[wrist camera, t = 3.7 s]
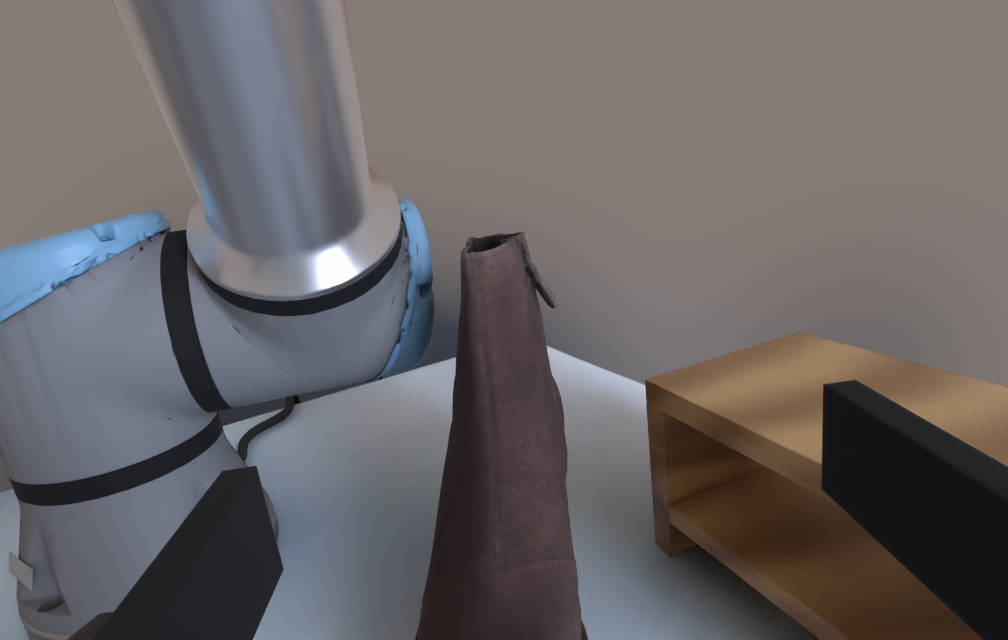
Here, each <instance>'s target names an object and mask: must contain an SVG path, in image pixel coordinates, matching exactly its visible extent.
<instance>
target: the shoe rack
mask: <svg viewBox="0 0 1008 640" xmlns="http://www.w3.org/2000/svg"><path fill="white" fill-rule="evenodd" d="M850 380H857V381H859V382H860V383H862V384H864V385H866V386H867V387H869V388H871V389H873V390H874V391H876V392H878V393H880V394H881V395H883V396H885V397H887V398H888V399H890V400H892V401H894V402H895V403H897V404H899V405H901V406H902V407H904V408H906V409H908V410H909V411H911V412H913V413H915V414H916V415H918V416H920V417H922V418H923V419H925V420H927V421H929V422H930V423H932V424H934V425H936V426H937V427H939V428H941V429H942V430H944V431H946V432H948V433H949V434H951V435H953V436H955V437H956V438H958V439H960V440H962V441H963V442H965V443H967V444H969V445H970V446H972V447H974V448H976V449H977V450H979V451H981V452H983V453H984V454H986V455H988V456H990V457H991V458H993V459H995V460H997V461H998V462H1000V463H1002V464H1004V465H1005V466H1007V467H1008V387H1003V386H1000V385H996V384H992V383H989V382H984V381H981V380H977V379H974V378H970V377H966V376H962V375H958V374H955V373H951V372H947V371H943V370H940V369H936V368H932V367H929V366H925V365H921V364H917V363H913V362H910V361H906V360H902V359H898V358H894V357H891V356H887V355H883V354H880V353H876V352H872V351H868V350H865V349H861V348H857V347H853V346H850V345H846V344H842V343H838V342H834V341H831V340H827V339H823V338H819V337H816V336H812V335H808V334H804V333H800V332H798V333H795V334H792V335H788V336H785V337H782V338H779V339H775V340H772V341H769V342H766V343H762V344H759V345H756V346H753V347H750V348H746V349H743V350H740V351H737V352H733V353H730V354H727V355H723V356H720V357H717V358H714V359H711V360H707V361H704V362H701V363H697V364H694V365H691V366H688V367H684V368H681V369H678V370H675V371H672V372H668V373H665V374H662V375H658V376H655V377H652V378H649V379H646V380H645V385H646V400H647V420H648V435H649V450H650V466H651V481H652V497H653V512H654V528H655V543H656V544H657V545H658V546H659V547H660V548H661V549H662V550H664V551H665V552H666V553H667V554H668V555H669V556H674V555H676V554H678V553H680V552H683V551H685V550H687V549H689V548H692V547H694V546H696V545H699V546H700V547H702V548H703V549H704V550H706V551H707V552H708V553H709V554H711V555H712V556H713V557H715V558H716V559H717V560H718V561H720V562H721V563H722V564H724V565H725V566H726V567H727V568H729V569H730V570H731V571H732V572H734V573H735V574H736V575H738V576H739V577H740V578H741V579H743V580H744V581H745V582H747V583H748V584H749V585H750V586H752V587H753V588H754V589H756V590H757V591H758V592H759V593H761V594H762V595H763V596H764V597H766V598H767V599H768V600H770V601H771V602H772V603H773V604H775V605H776V606H777V607H779V608H780V609H781V610H782V611H784V612H785V613H786V614H787V615H789V616H790V617H791V618H793V619H794V620H795V621H796V622H798V623H799V624H800V625H802V626H803V627H804V628H805V629H807V630H808V631H809V632H811V633H812V634H813V635H814V636H816V637H817V638H818V639H819V640H983V639H982V638H981V637H980V636H978V635H977V634H976V633H975V632H974V631H973V630H972V629H971V628H970V627H969V626H968V625H967V624H966V623H965V622H963V621H962V620H961V619H960V618H959V617H958V616H957V615H956V614H955V613H954V612H953V611H952V610H951V609H950V608H948V607H947V606H946V605H945V604H944V603H943V602H942V601H941V600H940V599H939V598H938V597H937V596H936V595H935V594H933V593H932V592H931V591H930V590H929V589H928V588H927V587H926V586H925V585H924V584H923V583H922V582H921V581H919V580H918V579H917V578H916V577H915V576H914V575H913V574H912V573H911V572H910V571H909V570H908V569H907V568H906V567H904V566H903V565H902V564H901V563H900V562H899V561H898V560H897V559H896V558H895V557H894V556H893V555H892V554H891V553H889V552H888V551H887V550H886V549H885V548H884V547H883V546H882V545H881V544H880V543H879V542H878V541H877V540H876V539H874V538H873V537H872V536H871V535H870V534H869V533H868V532H867V531H866V530H865V529H864V528H863V527H862V526H860V525H859V524H858V523H857V522H856V521H855V520H854V519H853V518H852V517H851V516H850V515H849V514H848V513H847V512H845V511H844V510H843V509H842V508H841V507H840V506H839V505H838V504H837V503H836V502H835V501H834V500H833V499H832V498H830V497H829V496H828V495H827V494H826V493H825V492H824V491H823V490H822V489H821V486H822V427H823V384H829V383H836V382H843V381H850Z"/></svg>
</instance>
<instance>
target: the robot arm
mask: <svg viewBox="0 0 1008 640" xmlns="http://www.w3.org/2000/svg"><path fill="white" fill-rule="evenodd" d="M112 1H113V3H114V5H115V8H116V10H117V12H118V14H119V16H120V19H121V21H122V23H123V25H124V28H125V30H126V32H127V35H128V37H129V39H130V42H131V44H132V46H133V48H134V51H135V53H136V55H137V57H138V60H139V62H140V64H141V66H142V68H143V71H144V73H145V75H146V78H147V80H148V82H149V84H150V87H151V89H152V91H153V93H154V96H155V98H156V100H157V103H158V105H159V107H160V110H161V112H162V114H163V116H164V119H165V121H166V123H167V125H168V128H169V130H170V132H171V134H172V137H173V139H174V141H175V144H176V146H177V148H178V150H179V153H180V155H181V157H182V159H183V161H184V164H185V166H186V168H187V171H188V173H189V175H190V178H191V180H192V182H193V184H194V187H195V189H196V191H197V193H198V196H199V198H198V200H197V201H196V203H195V204H194V206H193V208H192V210H191V213H190V215H189V219H188V223H187V230H182V231H175V232H170V231H169V230H170V229H171V225H170V222H169V221H167V220H166V219H165V218H164V216H163V214H162V213H161V212H159V211H157V210H151V211H146V212H143V213H139V214H134V215H131V216H126V217H122V218H118V219H115V220H111V221H108V222H104V223H100V224H95V225H92V226H88V227H84V228H80V229H76V230H72V231H68V232H65V233H61V234H57V235H53V236H49V237H45V238H42V239H38V240H34V241H30V242H26V243H23V244H19V245H16V246H11V247H8V248H4V249H0V457H1V460H2V462H3V464H4V467H5V469H6V471H7V474H8V476H9V479H10V481H11V484H12V486H13V489H14V491H15V494H16V496H17V499H18V502H19V505H20V510H21V515H20V536H19V557H18V558H17V557H16V556H15V555H14V554H12V553H11V552H10V556H9V572H10V573H11V574H13V575H14V576H15V577H16V578H17V602H18V608H19V614H20V618H21V620H22V622H23V625H24V627H25V630H26V632H27V634H28V636H29V638H30V640H253V638H254V635H255V633H256V631H257V628H258V626H259V624H260V622H261V619H262V617H263V615H264V612H265V610H266V608H267V606H268V603H269V601H270V599H271V596H272V594H273V592H274V590H275V587H276V585H277V583H278V580H279V578H280V576H281V574H282V571H283V565H282V562H281V558H280V554H279V550H278V547H277V543H276V541H277V538H278V532H279V530H278V522H277V519H276V515H275V511H274V507H273V504H272V502H271V501H270V498H269V496H268V494H267V493H266V491H265V490H264V488H263V487H262V486H261V482H260V478H259V474H258V471H257V467H256V466H252V467H247V465H246V464H245V463H244V461H245V459H246V456H247V448H248V444H249V442H250V441H251V440H252V439H253V438H254V437H255V436H256V435H258V434H259V433H261V432H263V431H265V430H266V429H268V428H270V427H272V426H274V425H276V424H277V423H279V422H281V421H282V420H284V419H285V418H286V417H287V416H289V415H290V413H291V412H292V410H293V408H294V405H296V404H300V403H301V402H300V400H299V398H298V396H297V395H298V394H303V393H308V392H312V391H318V390H323V389H329V388H334V387H339V386H344V385H349V384H354V383H360V382H366V383H367V382H374V381H378V380H380V379H382V378H383V377H384V376H386V375H390V374H394V373H398V372H402V371H406V370H409V369H412V368H413V367H415V366H417V365H418V364H419V363H420V362H421V361H422V360H423V359H424V357H425V356H426V354H427V352H428V350H429V347H430V344H431V339H432V335H433V325H434V296H433V292H432V289H431V286H432V280H433V275H432V264H431V256H430V250H429V245H428V240H427V235H426V232H425V228H424V225H423V222H422V219H421V216H420V214H419V212H418V211H417V209H416V207H415V206H414V205H413V204H412V203H411V202H409V201H407V200H404V199H397V196H396V194H395V192H394V190H393V189H392V187H391V185H390V184H389V183H388V181H387V180H386V179H385V178H384V177H383V176H382V175H381V174H380V173H378V172H377V171H376V170H374V169H373V168H371V167H370V166H368V165H367V157H366V150H365V143H364V135H363V129H362V121H361V113H360V106H359V99H358V91H357V84H356V77H355V69H354V62H353V55H352V47H351V40H350V33H349V25H348V19H347V11H346V3H345V0H112ZM283 397H286V406H285V408H284V409H283V410H282V411H281V412H280V413H278V414H276V415H275V416H273V417H271V418H269V419H267V420H265V421H263V422H262V423H260V424H258V425H256V426H255V427H253V428H252V429H250V430H249V431H248V432H247V433H246V434H245V435H244V436H243V437H242V438H241V440H240V442H239V444H238V451H237V452H236V451H235V449H234V448H233V447H232V445H231V444H230V442H229V441H228V440H227V438H226V436H225V433H224V430H223V427H222V424H221V420H220V416H219V413H218V411H222V410H226V409H230V408H235V407H240V406H245V405H250V404H255V403H259V402H264V401H269V400H273V399H279V398H283ZM821 489H822V490H823V491H824V492H825V493H826V494H827V495H828V496H829V497H830V498H832V499H833V500H834V501H835V502H836V503H837V504H838V505H839V506H840V507H841V508H842V509H843V510H844V511H845V512H847V513H848V514H849V515H850V516H851V517H852V518H853V519H854V520H855V521H856V522H857V523H858V524H859V525H860V526H862V527H863V528H864V529H865V530H866V531H867V532H868V533H869V534H870V535H871V536H872V537H873V538H874V539H876V540H877V541H878V542H879V543H880V544H881V545H882V546H883V547H884V548H885V549H886V550H887V551H888V552H889V553H891V554H892V555H893V556H894V557H895V558H896V559H897V560H898V561H899V562H900V563H901V564H902V565H903V566H904V567H906V568H907V569H908V570H909V571H910V572H911V573H912V574H913V575H914V576H915V577H916V578H917V579H918V580H919V581H921V582H922V583H923V584H924V585H925V586H926V587H927V588H928V589H929V590H930V591H931V592H932V593H933V594H935V595H936V596H937V597H938V598H939V599H940V600H941V601H942V602H943V603H944V604H945V605H946V606H947V607H948V608H950V609H951V610H952V611H953V612H954V613H955V614H956V615H957V616H958V617H959V618H960V619H961V620H962V621H963V622H965V623H966V624H967V625H968V626H969V627H970V628H971V629H972V630H973V631H974V632H975V633H976V634H977V635H978V636H980V637H981V638H982V639H983V640H1008V467H1007V466H1005V465H1004V464H1002V463H1000V462H998V461H997V460H995V459H993V458H991V457H990V456H988V455H986V454H984V453H983V452H981V451H979V450H977V449H976V448H974V447H972V446H970V445H969V444H967V443H965V442H963V441H962V440H960V439H958V438H956V437H955V436H953V435H951V434H949V433H948V432H946V431H944V430H942V429H941V428H939V427H937V426H936V425H934V424H932V423H930V422H929V421H927V420H925V419H923V418H922V417H920V416H918V415H916V414H915V413H913V412H911V411H909V410H908V409H906V408H904V407H902V406H901V405H899V404H897V403H895V402H894V401H892V400H890V399H888V398H887V397H885V396H883V395H881V394H880V393H878V392H876V391H874V390H873V389H871V388H869V387H867V386H866V385H864V384H862V383H860V382H859V381H857V380H850V381H843V382H836V383H829V384H823V427H822V486H821Z"/></svg>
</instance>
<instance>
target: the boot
mask: <svg viewBox="0 0 1008 640" xmlns="http://www.w3.org/2000/svg"><path fill="white" fill-rule="evenodd" d="M524 235H525V233H523V232H519V233H515V234H496V235H491V236H486V237H482V238H475V237H471V238H469V239H468V241H467V242H466V247H465V248H464V249H463V250H462V253H461V308H460V317H459V327H458V341H457V356H456V375H455V381H454V389H453V414H452V424H451V429H450V435H449V441H448V448H447V454H446V460H445V466H444V472H443V478H442V485H441V491H440V499H439V506H438V513H437V521H436V528H435V537H434V543H433V549H432V556H431V562H430V567H429V572H428V577H427V582H426V586H425V591H424V596H423V601H422V609H421V617H420V623H419V628H418V631H417V635H416V639H415V640H588V636H587V633H586V629H585V626H584V624H583V622H582V620H581V609H580V603H579V596H578V579H577V568H576V561H575V558H574V551H573V544H572V537H571V530H570V519H569V513H568V500H567V491H566V483H565V480H566V472H567V456H568V453H567V446H566V440H565V432H564V414H563V406H562V401H561V396H560V393H559V390H558V387H557V384H556V382H555V380H554V378H553V376H552V373H551V369H550V363H549V358H548V354H547V347H546V341H545V334H544V327H543V320H542V316H541V311H540V306H539V303H538V299H537V295H536V290H535V288H536V289H537V290H538V292H539V293H540V295H541V296H542V297H543V299H544V300H545V301H546V303H547V304H548V305H549V306H550V307H551V308H556V307H557V303H556V301H555V298H554V296H553V294H552V293H551V291H550V290H549V288H548V286H547V285H546V283H545V282H544V280H543V279H542V277H541V276H540V275H539V273H538V271H537V269H536V267H535V265H534V264H533V263H531V261H530V254H529V250H528V246H527V241H526V239H525V237H524Z"/></svg>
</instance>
